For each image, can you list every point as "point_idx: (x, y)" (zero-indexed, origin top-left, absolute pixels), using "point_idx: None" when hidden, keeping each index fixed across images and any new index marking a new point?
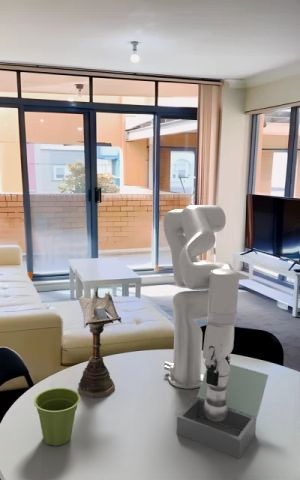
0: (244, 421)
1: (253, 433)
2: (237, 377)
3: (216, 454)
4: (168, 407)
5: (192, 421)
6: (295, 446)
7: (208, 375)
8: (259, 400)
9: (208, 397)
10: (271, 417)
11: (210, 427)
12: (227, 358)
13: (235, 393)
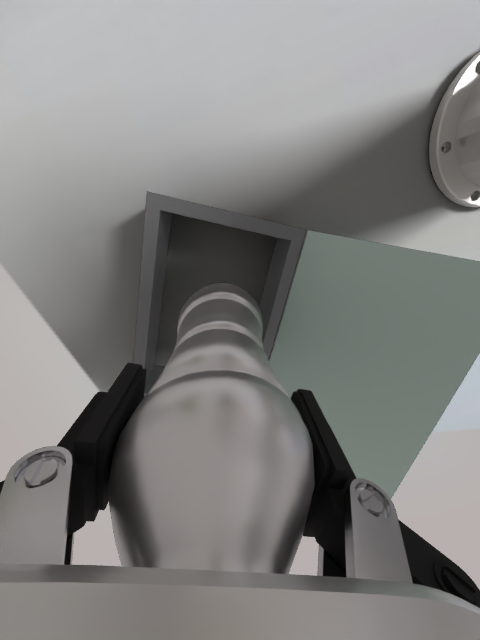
0: None
1: None
2: (375, 402)
3: (132, 325)
4: (292, 118)
5: (147, 256)
6: None
7: (72, 425)
8: None
9: (185, 324)
10: None
11: (145, 319)
12: (322, 557)
13: (313, 377)
